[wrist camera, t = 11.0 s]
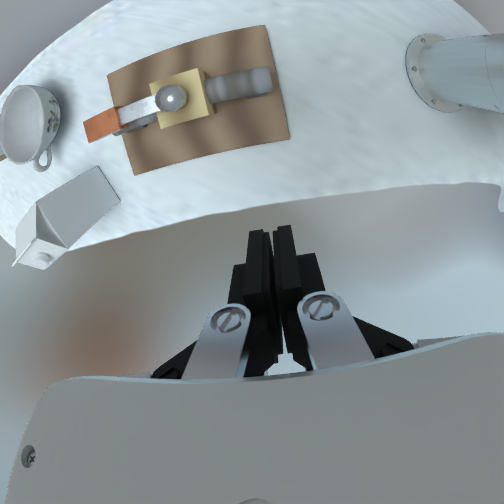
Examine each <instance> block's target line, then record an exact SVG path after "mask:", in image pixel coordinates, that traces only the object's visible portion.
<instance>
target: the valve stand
mask: <svg viewBox="0 0 504 504" xmlns="http://www.w3.org/2000/svg"><path fill="white" fill-rule="evenodd" d="M107 78H108V83H109V87H110V92H111V96H112V100H113V104H114V107H116V106H124V107H125V106H127V105H130V104H132V103H134V102H137V101H139V100H142V99H144V98H147V97H150V96H152V95H155V94H156V93H157V92H158V90H159V89H160V88H162V87H163V86H166V85H175V86H180V87H182V88H183V89H184V90H185V91H186V94H187V101H186V104H185V105H184V106H183V107H182V108H181V109H180V110H177V111H172V112H164V111H159V112H156V113H153V114H151V115H148V116H145V117H143V118H140V119H137V120H135V121H132V122H130V123H129V127H127V128H125V129H122V130H120V131H118V132H115V133H113V135H115V136H118V135H120V134H122V137H123V141H124V144H125V148H126V151H127V154H128V158H129V161H130V164H131V167H132V170H133V173H134V176H136V175H139V174H142V173H145V172H148V171H152V170H155V169H158V168H162V167H165V166H169V165H172V164H176V163H180V162H183V161H187V160H191V159H195V158H199V157H203V156H207V155H211V154H216V153H220V152H225V151H229V150H234V149H239V148H244V147H249V146H254V145H259V144H265V143H271V142H277V141H283V140H289V139H290V137H289V131H288V126H287V121H286V116H285V111H284V106H283V101H282V96H281V91H280V86H279V82H278V77H277V73H276V68H275V64H274V60H273V56H272V51H271V47H270V43H269V39H268V35H267V31H266V28H265V25H260V26H254V27H248V28H243V29H238V30H233V31H228V32H224V33H220V34H216V35H212V36H208V37H204V38H201V39H197V40H194V41H190V42H187V43H184V44H181V45H178V46H175V47H172V48H169V49H166V50H164V51H161V52H158V53H156V54H153V55H151V56H148V57H146V58H143V59H141V60H138V61H136V62H134V63H132V64H129V65H127V66H125V67H123V68H121V69H119V70H116V71H114V72H112V73H110V74H108V75H107Z"/></svg>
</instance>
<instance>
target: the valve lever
mask: <svg viewBox="0 0 504 504" xmlns="http://www.w3.org/2000/svg"><path fill="white" fill-rule="evenodd" d="M186 101H187V94H186V91H185V90H184V89H183V88H182V87H180V86H175V85H166V86H163V87H162V88H160V89H159V90H158V92H157V93H156V94H155V95H152V96H150V97H147V98H144V99H142V100H139V101H137V102H134V103H132V104H130V105H127V106H125V107H124V106H116V107H113V108H110V109H108V110H106V111H104V112H102V113H100V114H98V115H96V116H94V117H92V118H90V119H88V120H86V121H84V122H83V124H84V128H85V131H86V135H87V138H88V142H89V143H91V142H94V141H96V140H99V139H101V138H104V137H106V136H108V135H110V134H113V133H115V132H118V131H120V130H122V129H125V128H127V127H129V123H130V122H132V121H135V120H137V119H140V118H143V117H145V116H148V115H151V114H153V113H156V112H159V111H164V112H172V111H177V110H180V109H181V108H182V107H183V106H184V105H185V104H186Z"/></svg>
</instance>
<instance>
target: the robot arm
mask: <svg viewBox="0 0 504 504" xmlns="http://www.w3.org/2000/svg"><path fill="white" fill-rule="evenodd" d="M406 67H407V72H408V75H409V79H410V81H411V83H412V85H413V87H414V89H415V90H416V92H417V94H418V95H419V96H420V97H421V99H422V100H423V101H425V102H426V103H427V104H428V105H429V106H431V107H432V108H434V109H437V110H439V111H443V112H455V111H458V110H460V109H461V108H462V107H464V106H465V105H467V106H472V107H477V108H482V109H487V110H492V111H496V112H500V113H504V34H492V35H481V36H472V37H465V38H458V39H452V40H447V39H445V38H443V37H441V36H438V35H435V34H425V35H421V36H418V37H417V38H415V39H414V40H413V41H412V42H411V43H410V45H409V47H408V49H407V54H406ZM277 229H278V230H277V231H273V247H274V256H273V251H272V246H271V241H270V236H269V232H264V231H263V229H261V230H255V231H250V232H249V239H248V248H247V257H246V263H245V264H239V265H234V268H233V274H232V279H231V285H230V291H229V297H228V303H227V304H226V305H223V306H220V307H218V308H216V309H215V310H213V311H212V312H211V313H210V314H209V316H208V317H207V319H206V322H205V323H204V326H203V329H202V331H201V333H200V335H199V338H198V340H197V341H195V342H194V343H193V344H191V345H190V346H188V347H187V348H186V349H184V350H183V351H181V352H180V353H178V354H177V355H176V356H174V357H173V358H171V359H170V360H168V361H167V362H166V363H164V364H163V365H161V366H160V367H159V368H158V369H156V370H155V371H154V373H153V374H151V373H150V372H149V371H148V372H142V373H137V374H131V375H124V376H117V377H109V376H82V377H74V378H69V379H66V380H62V381H59V382H57V383H55V384H53V385H51V386H50V387H49V388H47V390H46V391H45V392H44V393H43V395H42V397H41V398H40V400H39V402H38V403H37V405H36V407H35V409H34V411H33V413H32V415H31V417H30V420H29V422H28V424H27V427H26V429H25V432H24V434H23V437H22V440H21V442H20V445H19V448H18V452H17V455H16V458H15V462H14V465H13V468H12V472H11V476H10V480H9V485H8V489H7V494H6V500H5V504H504V333H491V332H488V333H478V334H471V335H467V336H458V337H448V338H437V339H425V340H417V343H415V344H411V343H410V342H409V341H407V340H406V339H404V338H402V337H400V336H397V335H395V334H393V333H390V332H388V331H386V330H383V329H381V328H379V327H376V326H374V325H372V324H369V323H367V322H365V321H362V320H360V319H358V318H355V317H353V316H352V315H351V313H350V311H349V310H348V308H347V306H346V304H345V302H344V301H343V299H342V298H341V297H340V296H338V295H337V294H335V293H332V292H328V291H325V287H324V284H323V280H322V276H321V272H320V269H319V266H318V262H317V258H316V255H315V253H310V254H304V255H297V256H296V251H295V245H294V240H293V235H292V230H291V225H286V226H279V227H277ZM282 326H283V331H284V337H285V342H286V347H287V352H288V353H292V354H293V360H294V361H296V362H297V363H299V364H300V365H302V366H303V367H305V372H297V373H289V374H281V375H270V376H268V370H267V369H269V368H270V367H271V366H272V365H273V364H274V363H278V354H283V337H282Z"/></svg>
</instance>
